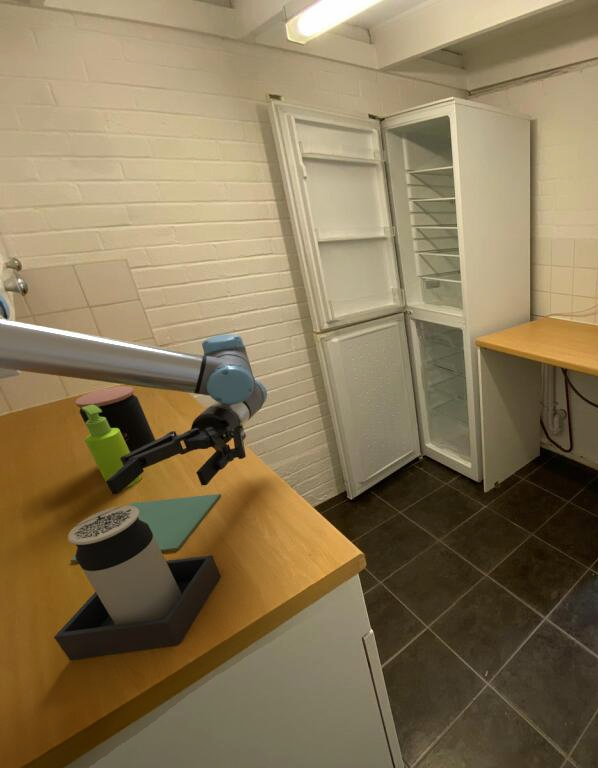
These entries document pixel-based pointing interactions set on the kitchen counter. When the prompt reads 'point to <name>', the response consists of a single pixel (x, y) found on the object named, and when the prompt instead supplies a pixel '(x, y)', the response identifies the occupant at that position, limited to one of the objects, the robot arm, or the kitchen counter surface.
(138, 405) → the coffee jar
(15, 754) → the kitchen counter surface
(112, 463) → the soap dispenser
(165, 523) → the mat
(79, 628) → the dark grey tray
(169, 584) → the travel mug
